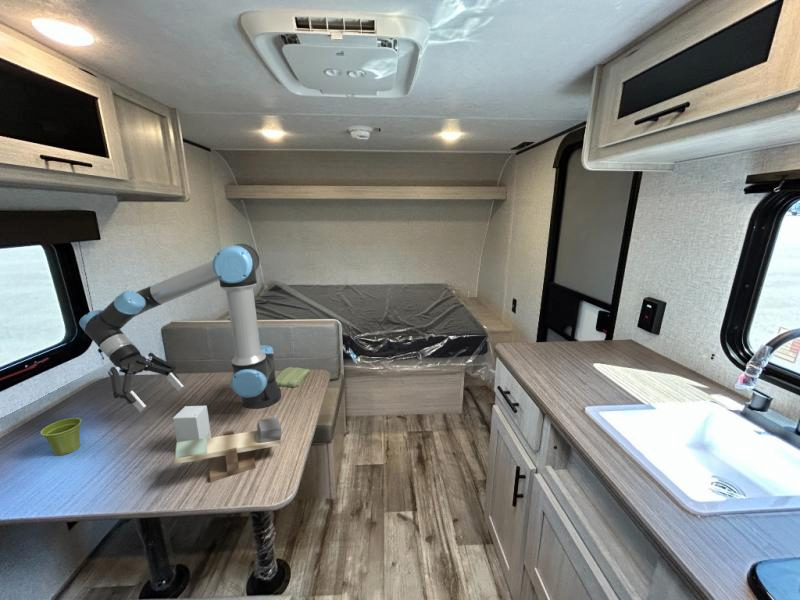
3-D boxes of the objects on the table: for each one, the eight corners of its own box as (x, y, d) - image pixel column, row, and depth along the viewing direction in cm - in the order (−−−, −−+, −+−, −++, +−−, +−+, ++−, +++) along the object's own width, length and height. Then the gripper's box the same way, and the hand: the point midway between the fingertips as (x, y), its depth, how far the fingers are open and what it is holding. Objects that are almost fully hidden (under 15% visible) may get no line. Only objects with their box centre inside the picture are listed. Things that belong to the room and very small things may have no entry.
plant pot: (66, 460, 106) (60, 435, 104) (38, 458, 106) (31, 434, 105) (94, 441, 115) (89, 418, 113) (68, 440, 116) (62, 417, 114)
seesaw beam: (275, 431, 114) (276, 416, 113) (280, 445, 107) (281, 429, 107) (175, 447, 100) (176, 430, 99) (174, 464, 93) (174, 445, 92)
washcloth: (311, 372, 170) (311, 366, 169) (297, 389, 152) (297, 382, 152) (286, 371, 171) (286, 365, 170) (269, 387, 154) (269, 381, 153)
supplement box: (212, 438, 117) (207, 405, 114) (201, 452, 110) (196, 417, 107) (190, 438, 117) (185, 405, 114) (177, 453, 110) (171, 417, 107)
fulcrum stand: (250, 447, 113) (248, 425, 111) (255, 467, 103) (253, 444, 101) (209, 459, 107) (206, 436, 105) (210, 482, 97) (207, 457, 96)
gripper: (151, 344, 126) (189, 387, 125) (72, 373, 102) (119, 425, 102) (160, 332, 123) (199, 375, 123) (82, 358, 100) (129, 412, 99)
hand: (163, 398), depth 112 cm, fingers open, 13 cm apart
